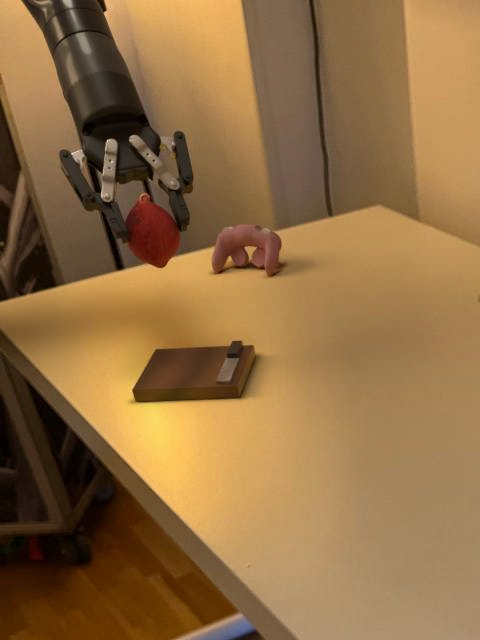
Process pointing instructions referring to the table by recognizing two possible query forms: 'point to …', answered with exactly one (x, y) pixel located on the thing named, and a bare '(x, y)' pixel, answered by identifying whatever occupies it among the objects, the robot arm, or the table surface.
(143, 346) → the table surface
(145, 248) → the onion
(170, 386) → the cutting board
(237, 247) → the video game controller
